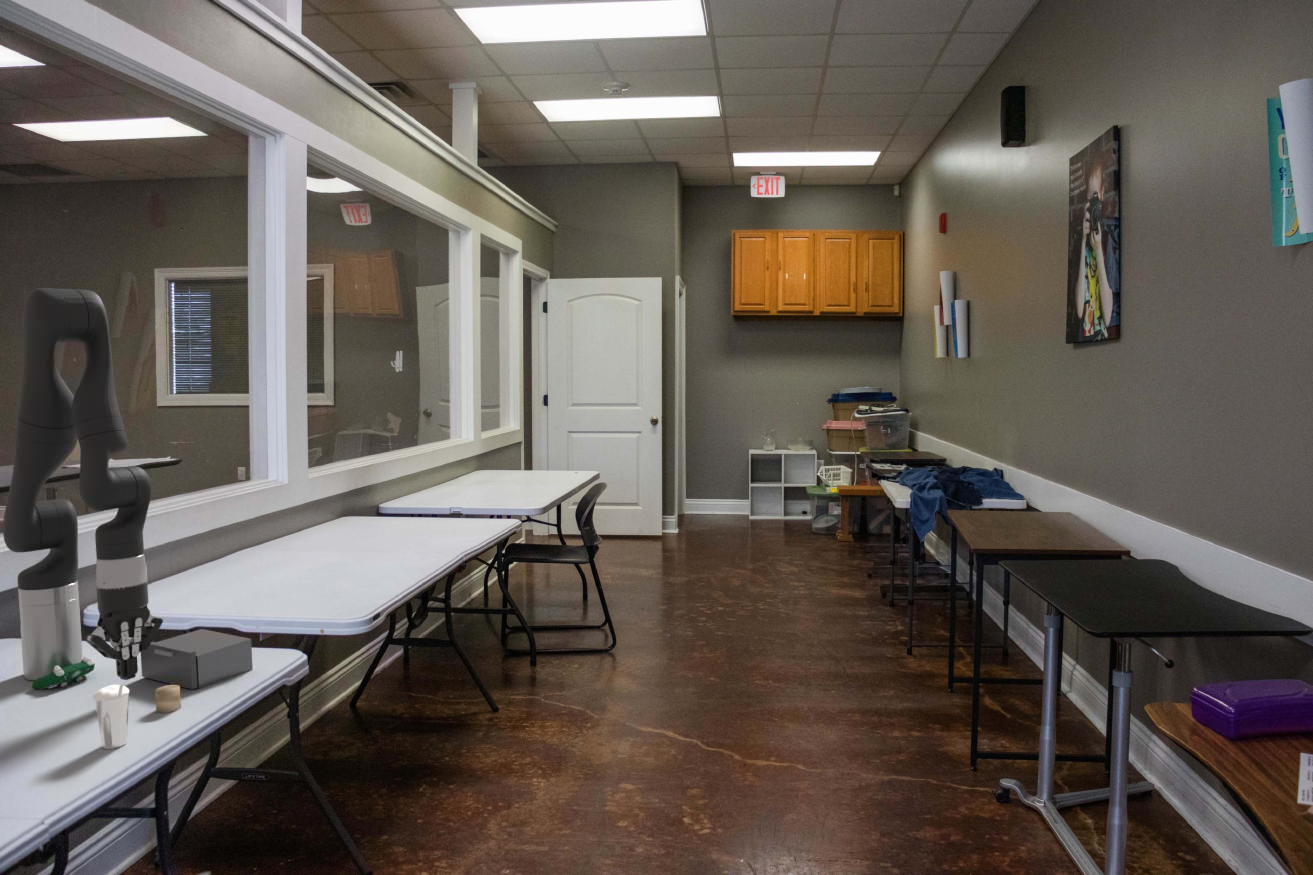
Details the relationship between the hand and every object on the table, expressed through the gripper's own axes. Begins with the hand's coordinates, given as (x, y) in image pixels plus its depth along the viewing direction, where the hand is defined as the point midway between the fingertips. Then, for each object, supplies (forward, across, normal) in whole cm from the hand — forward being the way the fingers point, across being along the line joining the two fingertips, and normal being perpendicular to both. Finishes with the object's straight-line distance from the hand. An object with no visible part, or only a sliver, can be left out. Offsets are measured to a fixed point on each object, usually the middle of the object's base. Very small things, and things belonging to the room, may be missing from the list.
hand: (127, 678), depth 148 cm
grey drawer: (+3, +12, 0) cm, 13 cm away
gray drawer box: (+4, +13, 0) cm, 14 cm away
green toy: (+4, 0, +18) cm, 19 cm away
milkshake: (+4, -13, -17) cm, 22 cm away
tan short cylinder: (+4, 0, -11) cm, 12 cm away
